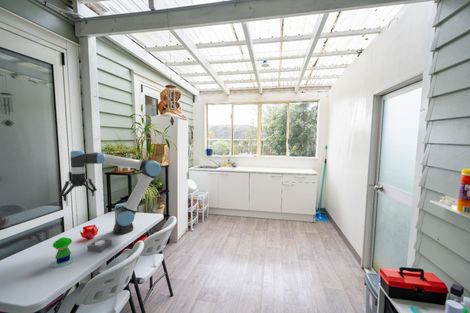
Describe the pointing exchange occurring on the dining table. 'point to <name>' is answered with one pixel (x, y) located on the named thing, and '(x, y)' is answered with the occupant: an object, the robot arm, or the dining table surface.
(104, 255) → the dining table surface
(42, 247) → the dining table surface
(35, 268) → the dining table surface
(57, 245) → the toy
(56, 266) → the pad
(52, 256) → the dining table surface
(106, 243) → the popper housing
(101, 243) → the dome
